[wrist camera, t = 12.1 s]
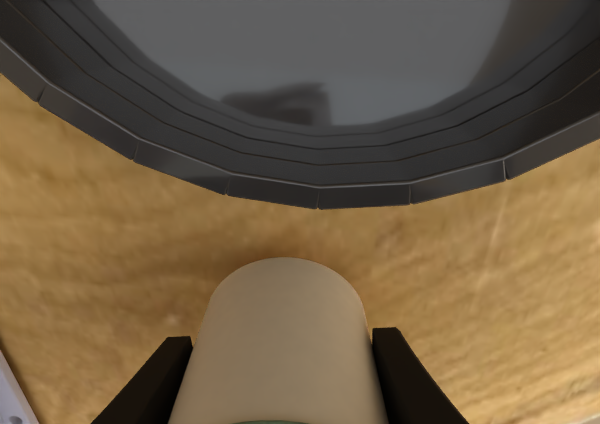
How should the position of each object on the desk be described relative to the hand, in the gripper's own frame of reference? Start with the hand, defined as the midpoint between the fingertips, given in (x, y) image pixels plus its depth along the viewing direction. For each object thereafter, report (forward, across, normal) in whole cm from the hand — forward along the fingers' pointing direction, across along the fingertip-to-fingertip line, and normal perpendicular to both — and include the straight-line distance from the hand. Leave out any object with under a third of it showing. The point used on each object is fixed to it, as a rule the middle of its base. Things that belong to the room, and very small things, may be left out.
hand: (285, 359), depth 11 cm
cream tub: (+1, 0, 0) cm, 1 cm away
